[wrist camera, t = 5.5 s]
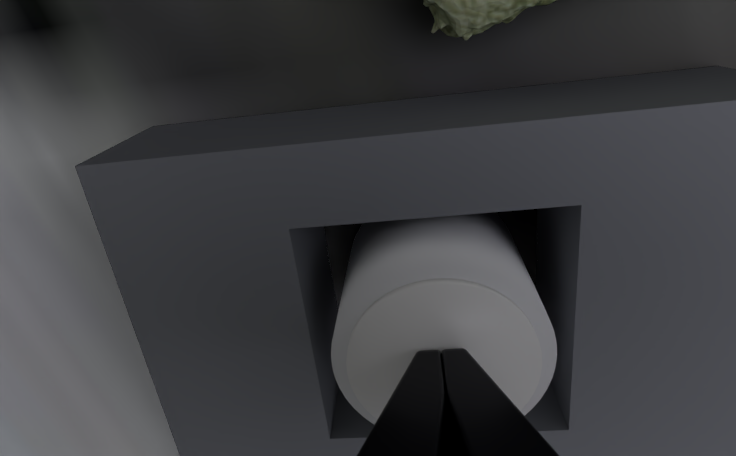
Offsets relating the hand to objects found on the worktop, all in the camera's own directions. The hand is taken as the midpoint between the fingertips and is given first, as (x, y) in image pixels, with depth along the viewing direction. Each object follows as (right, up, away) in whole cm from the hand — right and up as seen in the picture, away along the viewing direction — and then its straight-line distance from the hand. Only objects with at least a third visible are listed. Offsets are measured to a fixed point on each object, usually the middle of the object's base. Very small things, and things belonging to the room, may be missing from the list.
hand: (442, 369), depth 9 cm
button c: (0, +2, +3) cm, 4 cm away
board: (+1, -5, +6) cm, 8 cm away
